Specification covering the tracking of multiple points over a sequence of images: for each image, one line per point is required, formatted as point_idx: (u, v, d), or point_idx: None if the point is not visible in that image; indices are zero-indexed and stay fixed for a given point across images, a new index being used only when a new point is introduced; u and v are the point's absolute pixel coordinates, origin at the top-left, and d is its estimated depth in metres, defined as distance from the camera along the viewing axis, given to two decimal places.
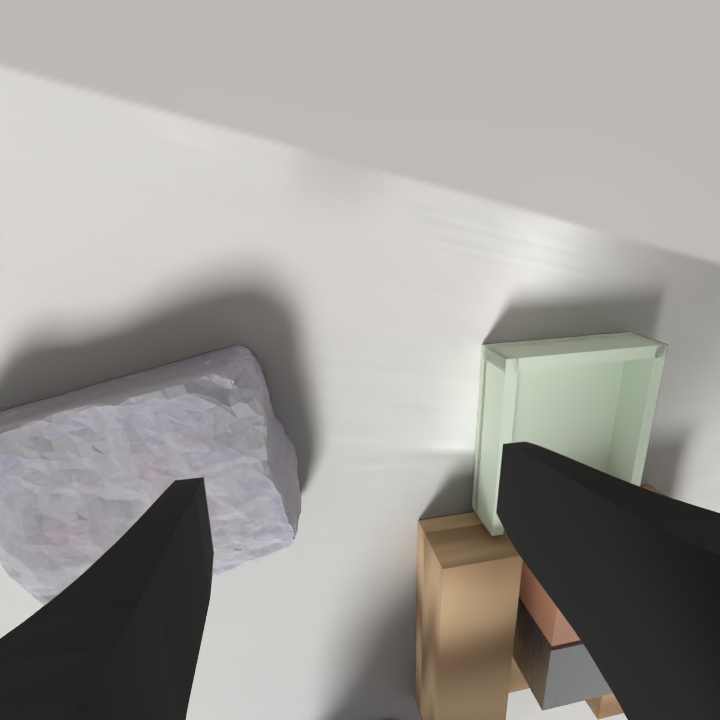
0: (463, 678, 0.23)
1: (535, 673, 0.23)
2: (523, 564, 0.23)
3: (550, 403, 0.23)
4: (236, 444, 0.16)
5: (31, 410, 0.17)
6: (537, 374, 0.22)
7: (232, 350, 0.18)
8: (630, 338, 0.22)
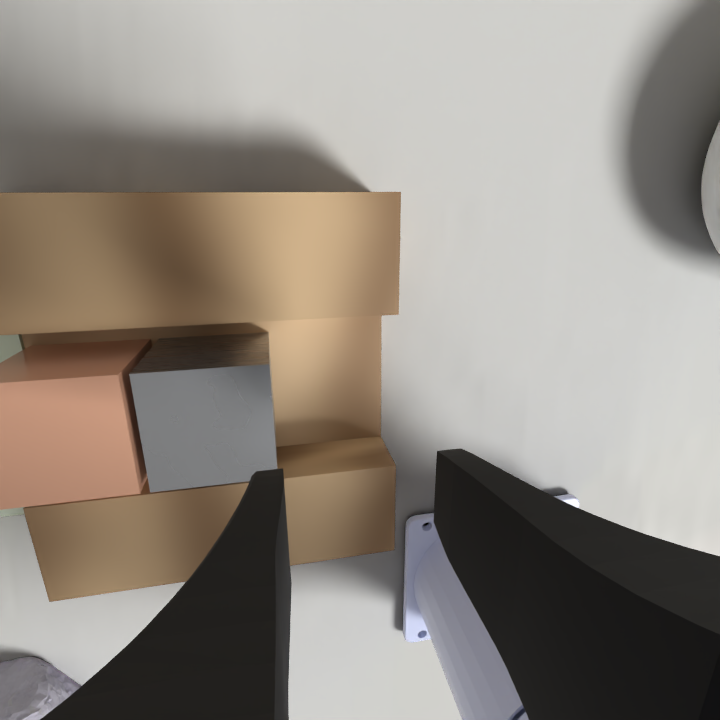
0: None
1: None
2: None
3: None
4: None
5: None
6: None
7: None
8: None
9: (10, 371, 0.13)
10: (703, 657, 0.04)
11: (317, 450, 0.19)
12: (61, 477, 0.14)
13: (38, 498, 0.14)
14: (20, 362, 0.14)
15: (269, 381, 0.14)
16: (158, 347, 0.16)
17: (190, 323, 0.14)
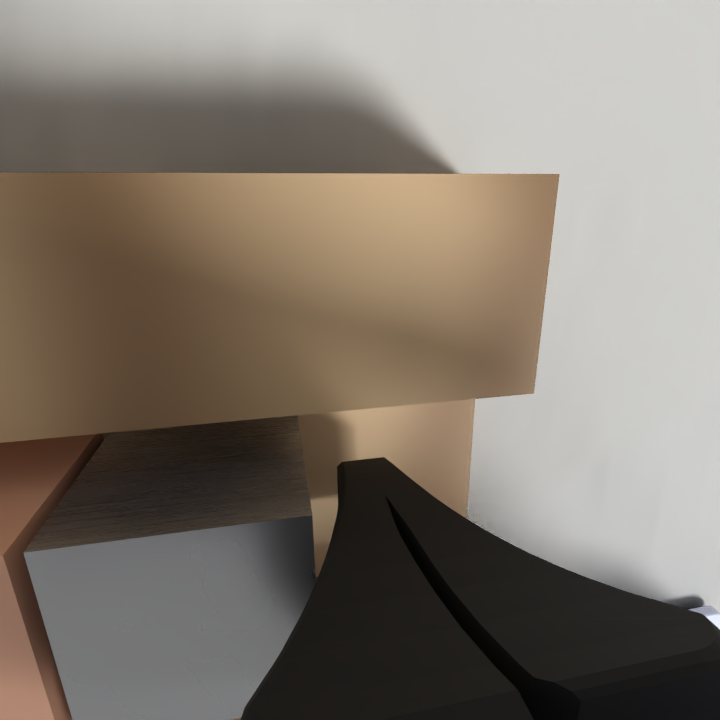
0: None
1: None
2: None
3: None
4: None
5: None
6: None
7: None
8: None
9: None
10: (522, 698, 0.04)
11: None
12: None
13: None
14: None
15: (311, 546, 0.07)
16: (106, 454, 0.09)
17: (161, 424, 0.08)
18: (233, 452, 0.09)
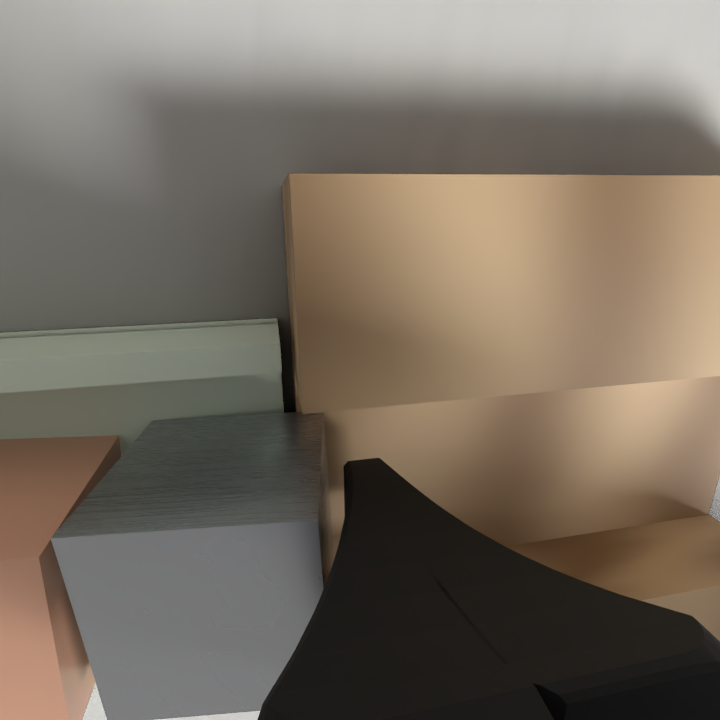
0: None
1: None
2: None
3: None
4: None
5: None
6: None
7: None
8: None
9: None
10: None
11: (648, 541, 0.14)
12: None
13: None
14: None
15: (317, 550, 0.07)
16: (139, 448, 0.09)
17: (604, 383, 0.09)
18: (254, 451, 0.09)
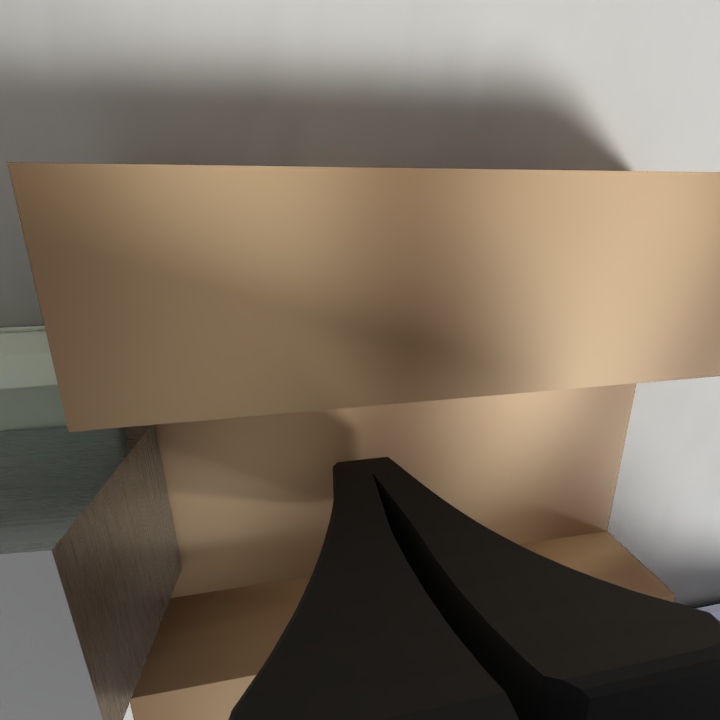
0: None
1: None
2: None
3: None
4: None
5: None
6: None
7: None
8: None
9: None
10: (531, 696, 0.04)
11: None
12: None
13: None
14: None
15: (57, 583, 0.06)
16: None
17: (429, 397, 0.08)
18: (45, 469, 0.08)
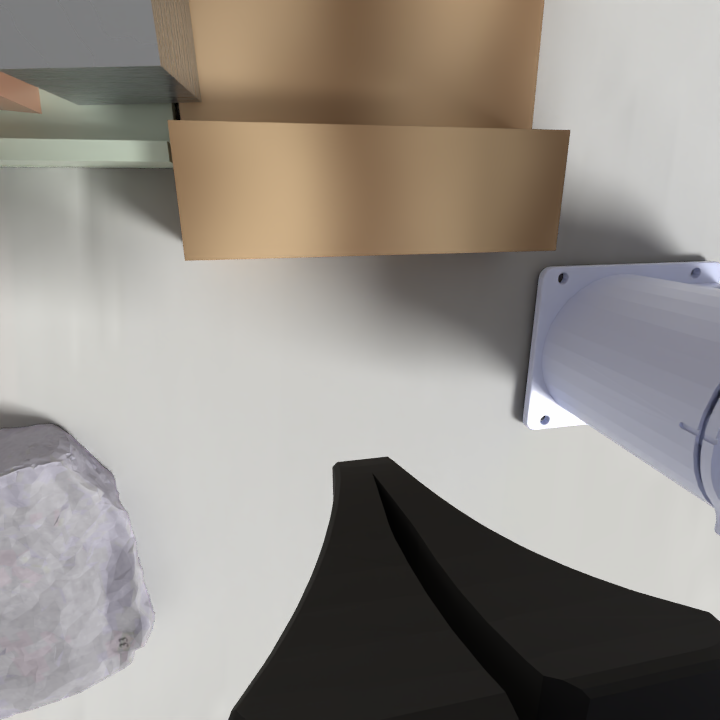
0: (405, 213, 0.15)
1: (118, 76, 0.12)
2: None
3: None
4: None
5: None
6: None
7: None
8: None
9: None
10: (531, 696, 0.04)
11: None
12: None
13: None
14: None
15: None
16: None
17: None
18: None
